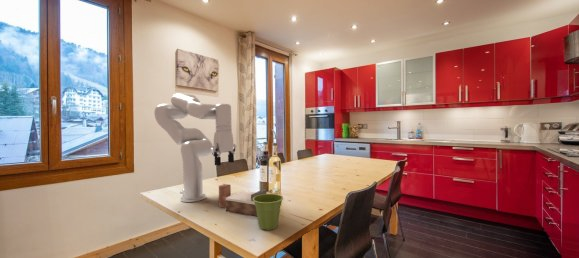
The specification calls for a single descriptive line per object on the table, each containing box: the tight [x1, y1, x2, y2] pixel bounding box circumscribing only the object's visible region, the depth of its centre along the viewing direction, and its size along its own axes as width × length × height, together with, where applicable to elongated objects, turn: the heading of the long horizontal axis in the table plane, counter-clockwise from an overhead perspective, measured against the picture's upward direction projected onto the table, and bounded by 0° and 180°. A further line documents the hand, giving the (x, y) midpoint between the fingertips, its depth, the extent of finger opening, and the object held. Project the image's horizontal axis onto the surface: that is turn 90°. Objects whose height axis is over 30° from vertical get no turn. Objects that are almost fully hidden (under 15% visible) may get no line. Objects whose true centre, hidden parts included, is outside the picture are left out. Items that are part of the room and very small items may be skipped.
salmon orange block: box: [218, 183, 232, 208], centre depth 118 cm, size 4×4×10 cm
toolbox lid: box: [226, 188, 268, 205], centre depth 112 cm, size 18×13×4 cm
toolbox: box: [225, 200, 258, 218], centre depth 112 cm, size 18×13×5 cm
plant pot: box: [253, 193, 284, 231], centre depth 93 cm, size 12×12×11 cm
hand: (224, 163), depth 118 cm, fingers open, 9 cm apart
